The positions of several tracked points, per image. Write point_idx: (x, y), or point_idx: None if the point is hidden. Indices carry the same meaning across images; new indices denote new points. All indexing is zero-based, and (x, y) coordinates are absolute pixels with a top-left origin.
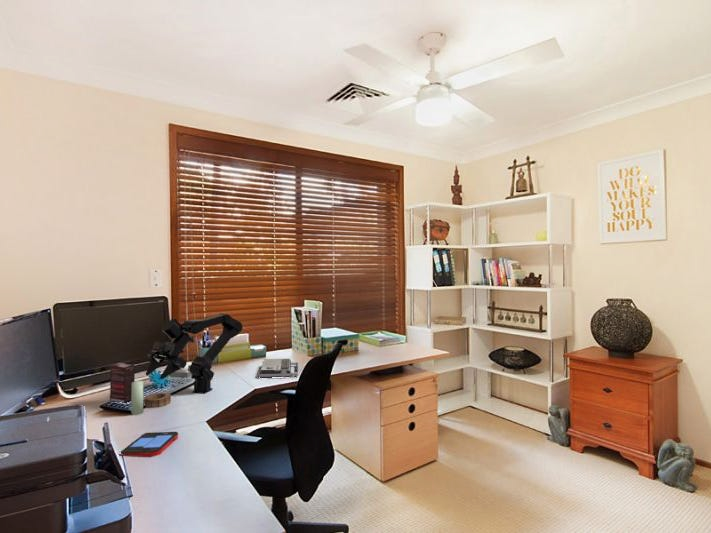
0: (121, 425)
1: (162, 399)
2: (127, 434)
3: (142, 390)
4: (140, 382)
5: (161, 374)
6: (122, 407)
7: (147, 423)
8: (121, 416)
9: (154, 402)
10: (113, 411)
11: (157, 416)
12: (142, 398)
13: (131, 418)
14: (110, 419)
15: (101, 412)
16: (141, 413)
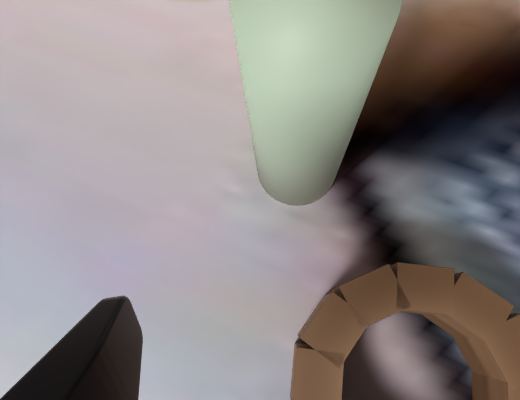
0: (156, 25)
1: (295, 382)
2: (3, 4)
3: (252, 103)
4: (273, 17)
5: (95, 346)
6: (503, 143)
7: (52, 135)
8: None
9: (318, 309)
10: (455, 73)
11: (110, 234)
12: (259, 147)
13: (222, 103)
14: None
15: (491, 18)
16: (261, 183)
